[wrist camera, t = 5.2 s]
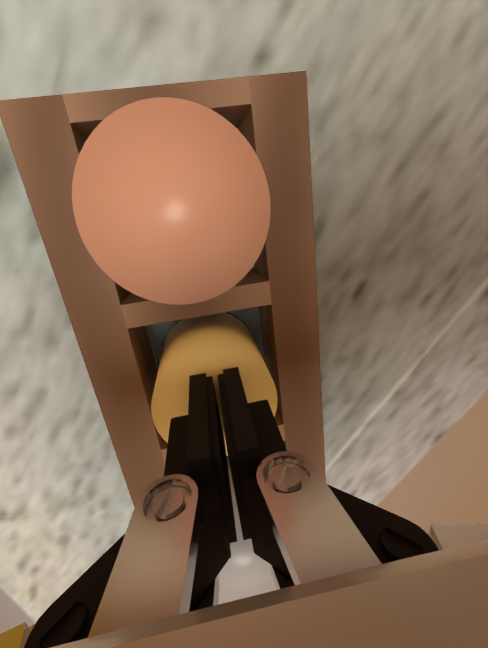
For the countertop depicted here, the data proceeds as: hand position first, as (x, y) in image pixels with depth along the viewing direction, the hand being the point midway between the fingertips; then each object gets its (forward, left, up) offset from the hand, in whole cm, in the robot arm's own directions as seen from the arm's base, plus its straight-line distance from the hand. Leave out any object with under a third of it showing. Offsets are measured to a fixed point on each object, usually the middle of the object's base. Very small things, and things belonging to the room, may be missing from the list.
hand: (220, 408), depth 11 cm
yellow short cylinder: (0, 0, -4) cm, 5 cm away
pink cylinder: (0, -6, -3) cm, 7 cm away
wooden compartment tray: (0, 0, -5) cm, 5 cm away
